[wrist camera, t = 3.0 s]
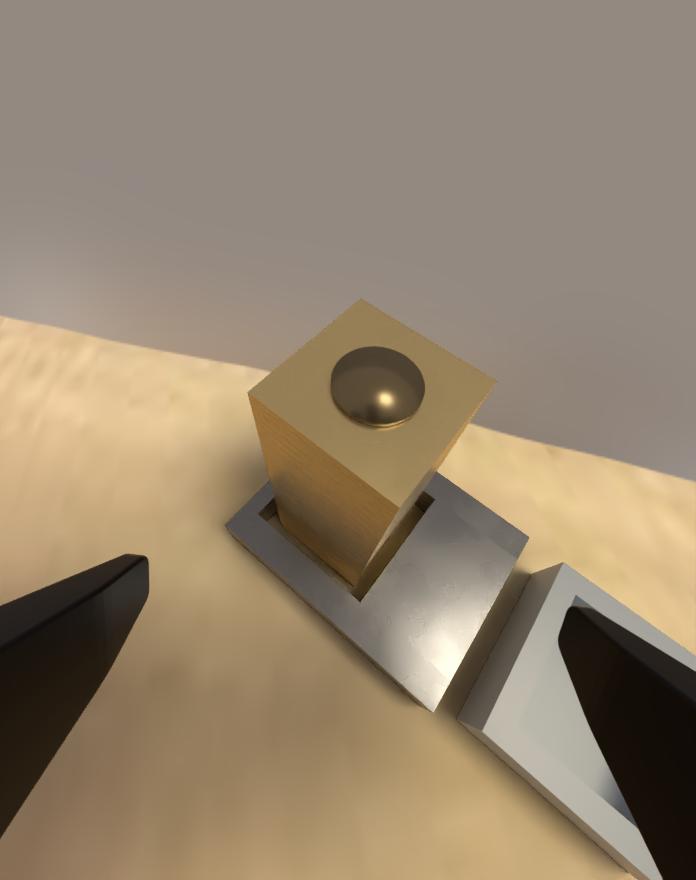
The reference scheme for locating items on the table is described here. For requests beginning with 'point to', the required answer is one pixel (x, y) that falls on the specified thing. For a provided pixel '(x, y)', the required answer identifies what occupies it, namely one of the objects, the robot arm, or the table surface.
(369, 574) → the table surface
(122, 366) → the table surface
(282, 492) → the brass tower with button
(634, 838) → the parts tray
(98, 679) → the robot arm
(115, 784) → the table surface
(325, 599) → the grey holder tray
